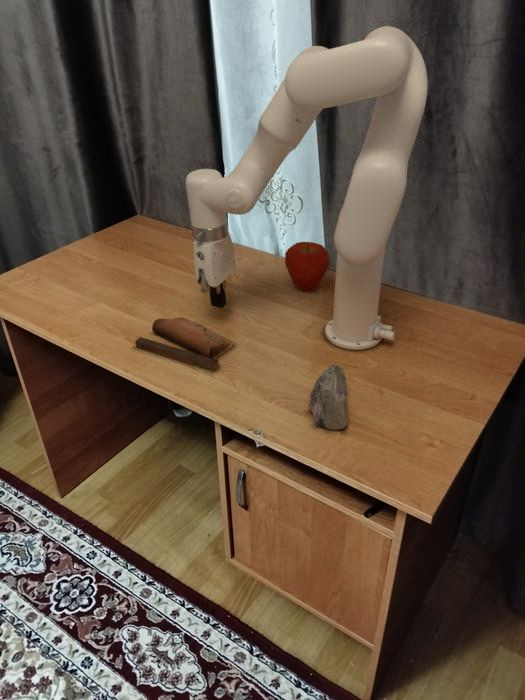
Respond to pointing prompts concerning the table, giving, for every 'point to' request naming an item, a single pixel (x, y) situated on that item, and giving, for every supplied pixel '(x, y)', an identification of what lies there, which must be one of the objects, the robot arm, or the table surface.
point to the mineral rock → (330, 399)
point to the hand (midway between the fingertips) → (218, 305)
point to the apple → (307, 264)
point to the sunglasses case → (193, 336)
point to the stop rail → (177, 354)
